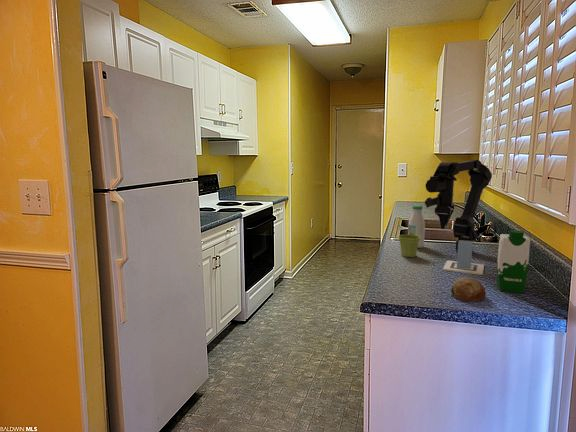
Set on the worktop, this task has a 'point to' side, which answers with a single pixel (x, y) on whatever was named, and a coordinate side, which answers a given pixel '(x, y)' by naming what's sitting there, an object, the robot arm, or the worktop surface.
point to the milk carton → (513, 262)
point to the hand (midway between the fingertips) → (443, 227)
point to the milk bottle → (417, 224)
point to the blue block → (464, 254)
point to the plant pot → (409, 245)
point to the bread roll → (468, 290)
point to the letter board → (474, 268)
